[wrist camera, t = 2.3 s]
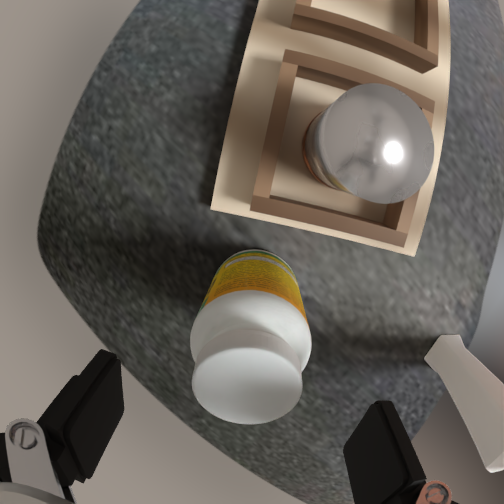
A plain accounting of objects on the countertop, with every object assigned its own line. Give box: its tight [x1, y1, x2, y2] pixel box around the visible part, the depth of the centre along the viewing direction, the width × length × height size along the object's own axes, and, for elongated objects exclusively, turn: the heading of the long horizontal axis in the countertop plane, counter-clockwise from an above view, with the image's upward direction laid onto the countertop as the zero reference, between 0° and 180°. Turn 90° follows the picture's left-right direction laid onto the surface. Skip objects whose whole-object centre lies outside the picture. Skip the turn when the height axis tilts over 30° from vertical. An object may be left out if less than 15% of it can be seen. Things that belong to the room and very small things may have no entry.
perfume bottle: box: [424, 335, 504, 473], centre depth 13 cm, size 5×4×15 cm
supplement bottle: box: [190, 249, 311, 424], centre depth 14 cm, size 5×5×10 cm
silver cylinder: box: [302, 83, 434, 204], centre depth 12 cm, size 5×5×6 cm
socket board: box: [211, 0, 450, 256], centre depth 13 cm, size 21×13×3 cm, turn 168°
